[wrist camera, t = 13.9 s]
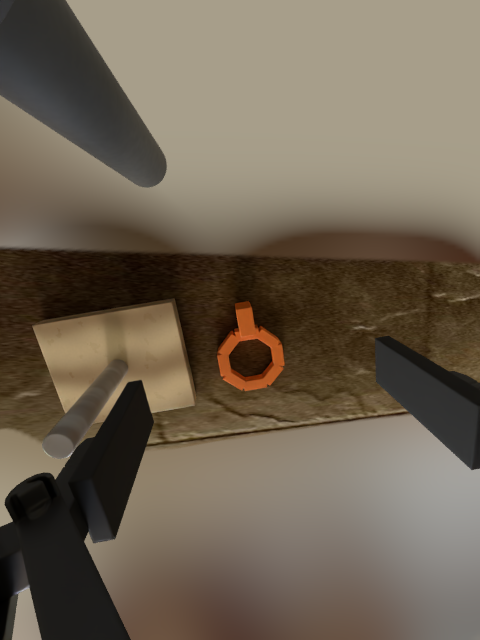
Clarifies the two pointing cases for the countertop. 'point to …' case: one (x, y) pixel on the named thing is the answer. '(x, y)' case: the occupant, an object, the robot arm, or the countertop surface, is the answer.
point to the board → (120, 341)
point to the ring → (248, 332)
